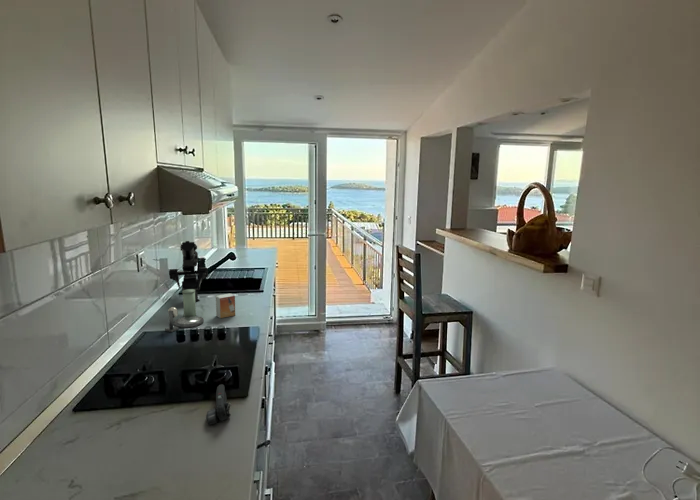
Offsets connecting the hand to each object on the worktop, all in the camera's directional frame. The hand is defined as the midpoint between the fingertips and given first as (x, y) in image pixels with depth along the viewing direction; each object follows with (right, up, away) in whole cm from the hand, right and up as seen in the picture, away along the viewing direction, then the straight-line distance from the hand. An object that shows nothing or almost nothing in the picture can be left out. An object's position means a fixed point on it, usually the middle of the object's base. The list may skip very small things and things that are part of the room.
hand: (189, 287), depth 196 cm
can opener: (+44, -29, -81) cm, 97 cm away
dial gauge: (+2, -17, -23) cm, 29 cm away
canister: (+2, -14, -4) cm, 15 cm away
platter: (+6, -16, -14) cm, 22 cm away
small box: (+20, -14, -3) cm, 25 cm away
